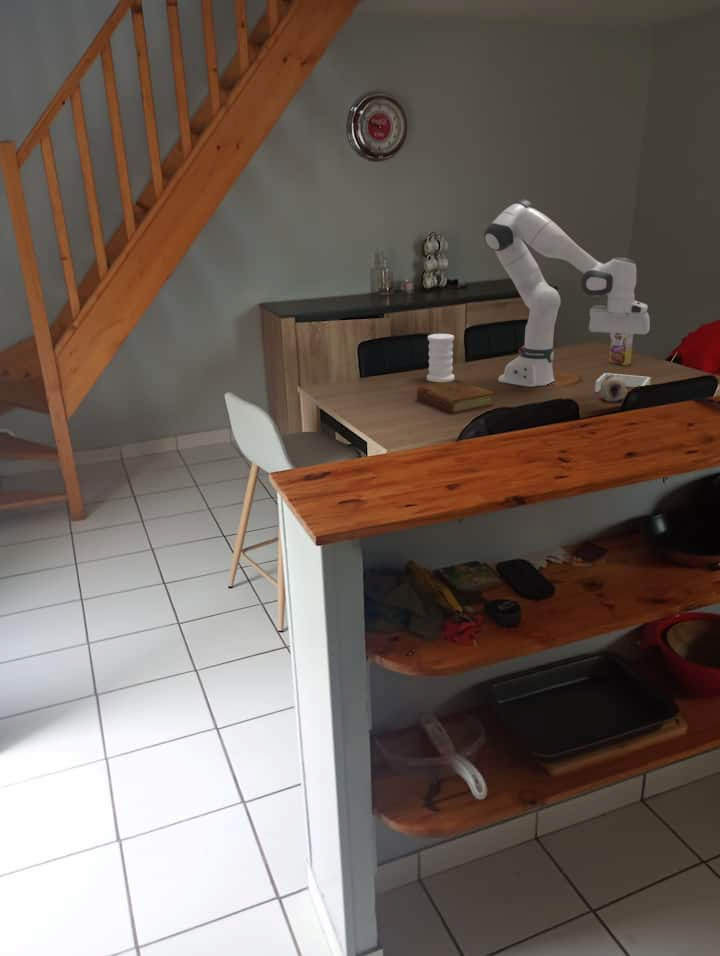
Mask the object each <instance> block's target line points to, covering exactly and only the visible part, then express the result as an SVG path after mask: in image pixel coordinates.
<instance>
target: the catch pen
mask: <svg viewBox="0 0 720 956" xmlns="http://www.w3.org/2000/svg"><path fill="white" fill-rule="evenodd" d="M611 374H613V375H615V376H616V375H619V376H620V378H621V379H623V380H624V382H625V384H626V388H635V387H638V386H645V385H650V386H651V379H652V377H651V376H644V375H643V376H642V375H641V376H640V375H634V374H633V375H631V374H622V373H621V374H620V373H610V372H604V373H603V374H602V375H600V376H599V378H597V379H596V380H595V387H594V392H595V393H598V392H600V391H601V387H600V385H601V383H602V381H603V380H604V379H605V378H606V377H607V376H609V375H611Z"/></svg>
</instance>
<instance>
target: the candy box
mask: <svg viewBox="0 0 720 956" xmlns="http://www.w3.org/2000/svg"><path fill="white" fill-rule="evenodd" d="M614 336H615V339H616V340H621V338H622V337H623V336H621V333H616V335H614ZM633 339H634V334H626V336H625V338H624V339H623V341H622V346H613V340H612V338H611V337H610V351H609V363H613V364H617V365H620V364H621V366H623V365H625V366H629V365H628V364H630V365H631V361H632V360H631V359H632V353H633V352H632V349H633V342H634V340H633Z"/></svg>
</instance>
